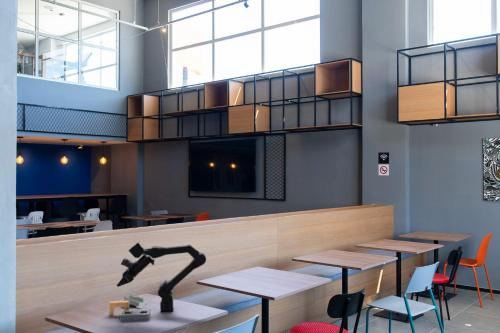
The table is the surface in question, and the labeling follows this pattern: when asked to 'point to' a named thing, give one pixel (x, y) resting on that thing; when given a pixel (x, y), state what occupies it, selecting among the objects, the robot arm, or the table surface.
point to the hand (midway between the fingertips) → (118, 284)
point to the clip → (118, 304)
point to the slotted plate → (135, 315)
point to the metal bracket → (136, 301)
